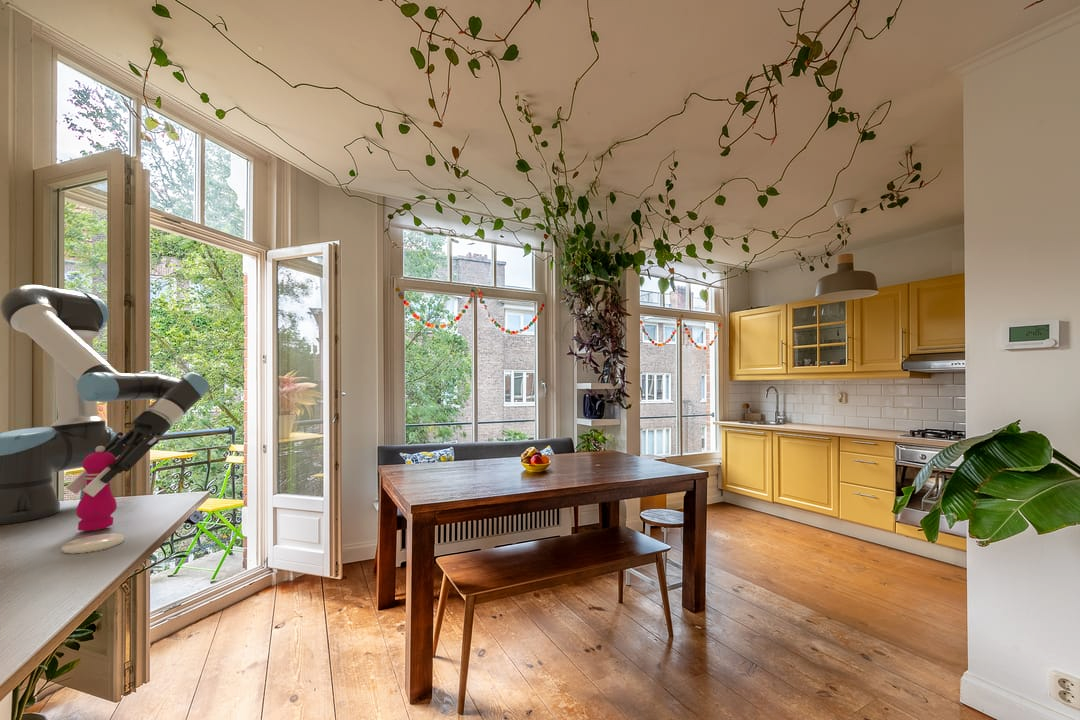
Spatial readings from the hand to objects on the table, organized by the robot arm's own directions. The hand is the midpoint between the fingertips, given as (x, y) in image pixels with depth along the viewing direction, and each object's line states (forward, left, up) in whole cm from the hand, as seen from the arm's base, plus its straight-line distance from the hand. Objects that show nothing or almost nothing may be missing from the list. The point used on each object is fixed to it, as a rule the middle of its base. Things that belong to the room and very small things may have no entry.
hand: (79, 491), depth 110 cm
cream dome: (+8, +10, -10) cm, 16 cm away
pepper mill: (-3, +2, -10) cm, 10 cm away
